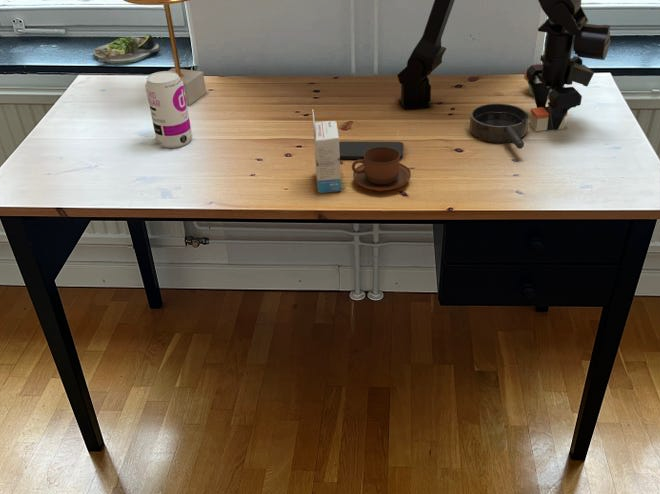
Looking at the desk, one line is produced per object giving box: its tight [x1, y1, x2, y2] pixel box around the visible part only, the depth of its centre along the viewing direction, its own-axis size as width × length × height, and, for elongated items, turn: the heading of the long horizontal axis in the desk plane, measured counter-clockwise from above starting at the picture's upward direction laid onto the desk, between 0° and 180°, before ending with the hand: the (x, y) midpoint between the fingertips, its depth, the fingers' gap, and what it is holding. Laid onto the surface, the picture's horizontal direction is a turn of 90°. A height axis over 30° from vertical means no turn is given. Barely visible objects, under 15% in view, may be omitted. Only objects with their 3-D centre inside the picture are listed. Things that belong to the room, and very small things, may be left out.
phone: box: [339, 140, 404, 160], centre depth 173 cm, size 7×1×15 cm
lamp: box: [123, 0, 207, 106], centre depth 187 cm, size 21×21×41 cm
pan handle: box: [505, 127, 525, 150], centre depth 169 cm, size 9×2×2 cm, turn 10°
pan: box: [468, 103, 529, 144], centre depth 178 cm, size 13×13×4 cm
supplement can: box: [145, 70, 193, 149], centre depth 175 cm, size 8×8×15 cm
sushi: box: [529, 106, 569, 132], centre depth 180 cm, size 7×4×4 cm, turn 100°
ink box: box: [311, 108, 342, 194], centre depth 158 cm, size 9×5×15 cm, turn 5°
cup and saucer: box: [351, 147, 412, 192], centre depth 160 cm, size 12×12×6 cm
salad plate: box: [92, 33, 163, 65], centre depth 222 cm, size 19×18×5 cm
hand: (547, 121), depth 180 cm, fingers open, 9 cm apart
